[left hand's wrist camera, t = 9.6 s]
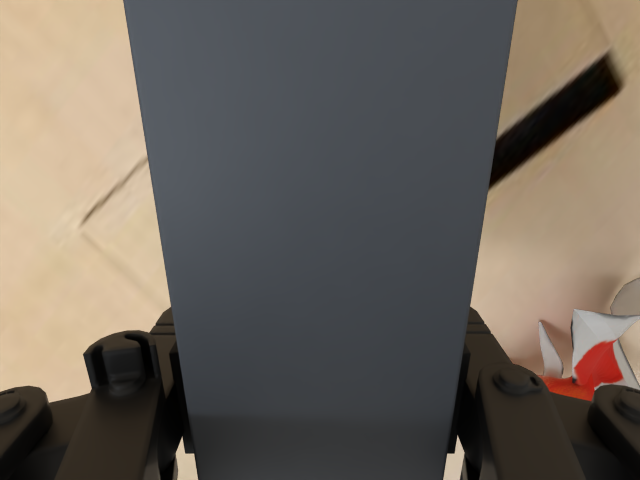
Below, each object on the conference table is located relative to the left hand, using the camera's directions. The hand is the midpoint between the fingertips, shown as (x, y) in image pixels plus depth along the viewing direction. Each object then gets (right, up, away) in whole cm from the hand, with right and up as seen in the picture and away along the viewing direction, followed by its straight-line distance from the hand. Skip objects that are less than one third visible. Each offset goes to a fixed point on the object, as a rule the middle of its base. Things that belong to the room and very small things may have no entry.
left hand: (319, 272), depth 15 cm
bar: (0, +8, -2) cm, 9 cm away
